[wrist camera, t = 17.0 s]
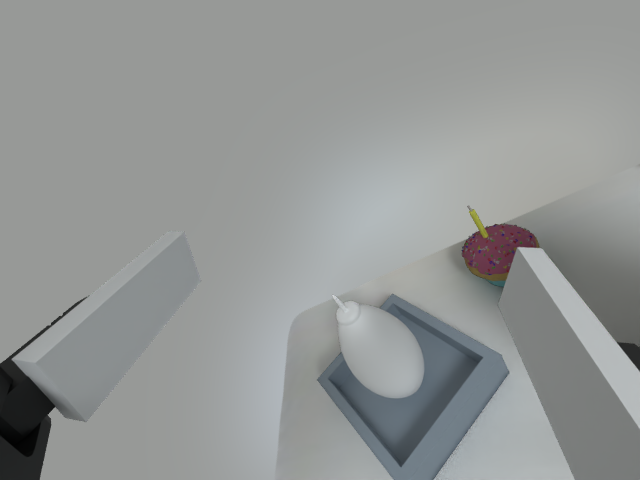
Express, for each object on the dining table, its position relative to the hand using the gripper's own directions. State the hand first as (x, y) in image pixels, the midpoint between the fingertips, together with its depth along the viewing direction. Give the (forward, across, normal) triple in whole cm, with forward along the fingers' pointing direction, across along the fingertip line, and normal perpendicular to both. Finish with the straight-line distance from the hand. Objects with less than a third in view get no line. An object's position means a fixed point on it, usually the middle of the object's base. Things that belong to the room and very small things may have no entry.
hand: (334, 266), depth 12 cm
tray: (+14, +6, -28) cm, 32 cm away
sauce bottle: (+14, +6, -28) cm, 32 cm away
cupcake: (+27, +19, -20) cm, 38 cm away
